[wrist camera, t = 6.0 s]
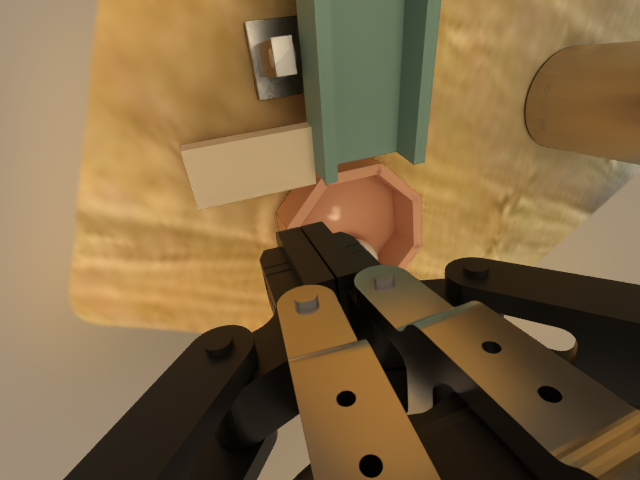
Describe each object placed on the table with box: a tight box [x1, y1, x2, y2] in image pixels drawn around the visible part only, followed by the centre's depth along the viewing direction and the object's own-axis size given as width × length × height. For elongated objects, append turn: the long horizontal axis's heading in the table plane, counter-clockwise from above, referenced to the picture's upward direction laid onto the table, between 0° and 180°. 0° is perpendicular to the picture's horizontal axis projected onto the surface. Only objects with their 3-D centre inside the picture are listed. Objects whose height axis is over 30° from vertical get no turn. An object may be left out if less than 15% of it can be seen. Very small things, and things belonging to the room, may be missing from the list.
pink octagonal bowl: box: [276, 158, 422, 270], centre depth 33 cm, size 12×12×4 cm
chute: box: [180, 0, 441, 210], centre depth 21 cm, size 15×15×6 cm
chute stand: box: [243, 16, 304, 100], centre depth 25 cm, size 11×5×7 cm, turn 98°
